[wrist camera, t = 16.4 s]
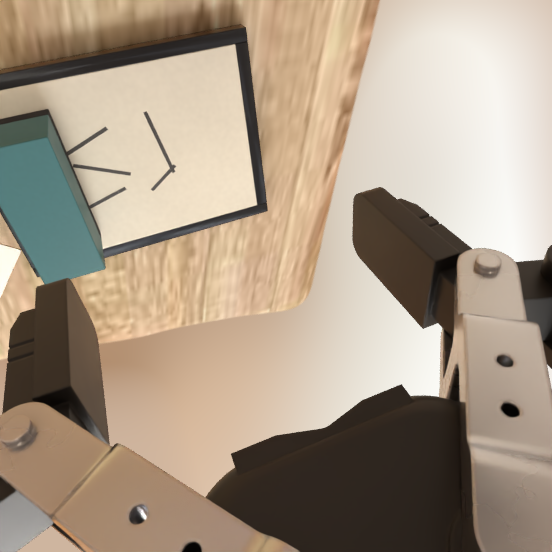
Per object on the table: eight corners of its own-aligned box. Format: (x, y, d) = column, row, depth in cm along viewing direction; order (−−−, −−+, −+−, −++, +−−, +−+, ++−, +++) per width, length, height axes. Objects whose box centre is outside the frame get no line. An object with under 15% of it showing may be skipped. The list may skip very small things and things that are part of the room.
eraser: (-20, 123, 32) (-31, 154, 28) (48, 108, 33) (47, 136, 29) (46, 247, 39) (45, 286, 35) (100, 232, 40) (106, 269, 36)
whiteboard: (-69, 82, 30) (-73, 87, 29) (241, 24, 35) (246, 27, 34) (37, 269, 41) (37, 277, 40) (263, 205, 46) (268, 211, 45)
